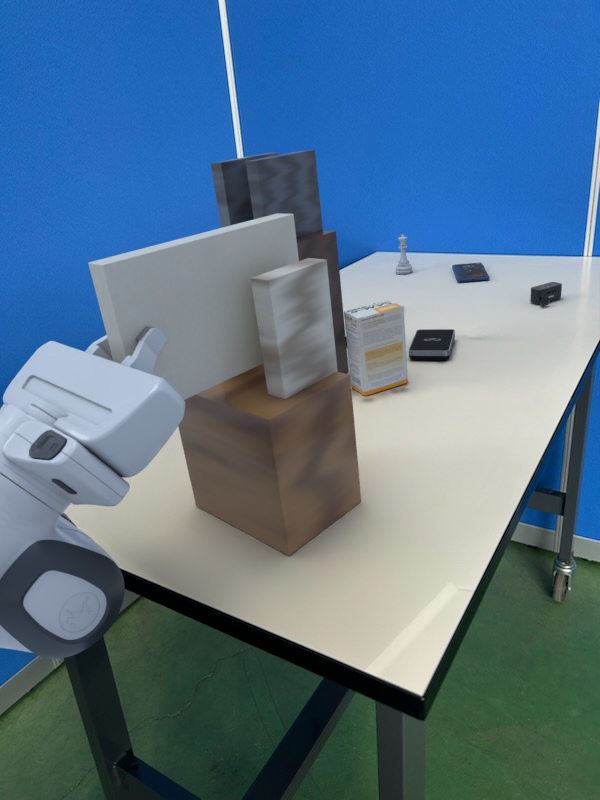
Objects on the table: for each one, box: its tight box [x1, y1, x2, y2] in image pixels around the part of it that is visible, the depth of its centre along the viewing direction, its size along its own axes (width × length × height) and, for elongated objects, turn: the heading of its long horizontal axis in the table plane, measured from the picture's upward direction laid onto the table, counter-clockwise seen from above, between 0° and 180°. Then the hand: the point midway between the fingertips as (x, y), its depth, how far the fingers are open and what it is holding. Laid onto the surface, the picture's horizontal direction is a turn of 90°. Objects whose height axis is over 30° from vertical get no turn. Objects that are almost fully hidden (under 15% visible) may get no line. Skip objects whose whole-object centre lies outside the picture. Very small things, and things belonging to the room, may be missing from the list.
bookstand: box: [210, 149, 350, 374], centre depth 101 cm, size 12×16×36 cm
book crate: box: [177, 258, 362, 557], centre depth 68 cm, size 12×16×28 cm
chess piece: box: [395, 233, 414, 276], centre depth 162 cm, size 4×4×10 cm
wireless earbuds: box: [529, 281, 563, 307], centre depth 128 cm, size 5×7×3 cm, turn 115°
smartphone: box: [451, 262, 491, 283], centre depth 155 cm, size 8×1×15 cm
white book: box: [87, 213, 299, 400], centre depth 60 cm, size 22×2×14 cm, turn 136°
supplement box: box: [343, 299, 409, 397], centre depth 98 cm, size 8×5×13 cm, turn 114°
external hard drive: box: [408, 328, 456, 361], centre depth 111 cm, size 7×11×2 cm, turn 162°
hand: (146, 328), depth 55 cm, fingers closed on white book, 2 cm apart
